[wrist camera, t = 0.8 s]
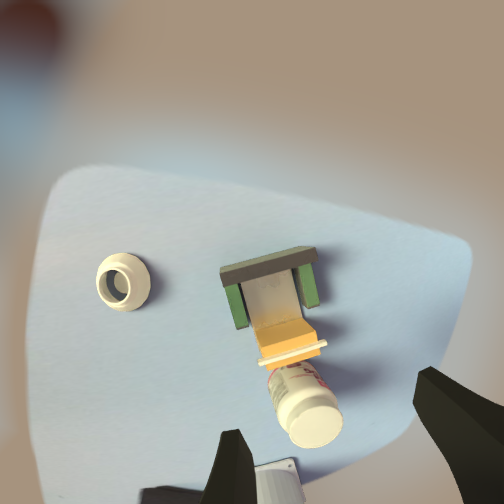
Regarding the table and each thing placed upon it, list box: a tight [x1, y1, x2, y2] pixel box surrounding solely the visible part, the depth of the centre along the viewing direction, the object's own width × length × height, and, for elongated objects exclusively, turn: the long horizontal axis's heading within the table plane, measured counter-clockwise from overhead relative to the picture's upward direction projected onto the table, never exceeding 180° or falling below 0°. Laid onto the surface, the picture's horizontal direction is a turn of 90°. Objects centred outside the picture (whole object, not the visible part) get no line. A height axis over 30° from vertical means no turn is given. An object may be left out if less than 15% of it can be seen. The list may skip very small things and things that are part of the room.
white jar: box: [96, 253, 151, 311], centre depth 23 cm, size 5×3×5 cm
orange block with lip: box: [255, 318, 327, 371], centre depth 23 cm, size 2×5×5 cm, turn 105°
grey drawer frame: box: [220, 246, 320, 351], centre depth 23 cm, size 8×7×4 cm
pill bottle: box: [268, 360, 343, 449], centre depth 22 cm, size 5×5×8 cm
